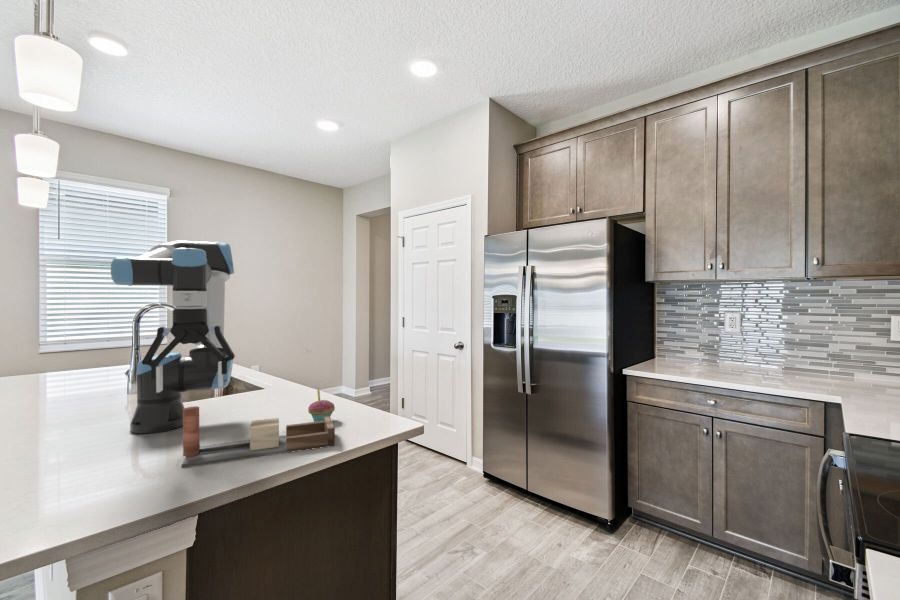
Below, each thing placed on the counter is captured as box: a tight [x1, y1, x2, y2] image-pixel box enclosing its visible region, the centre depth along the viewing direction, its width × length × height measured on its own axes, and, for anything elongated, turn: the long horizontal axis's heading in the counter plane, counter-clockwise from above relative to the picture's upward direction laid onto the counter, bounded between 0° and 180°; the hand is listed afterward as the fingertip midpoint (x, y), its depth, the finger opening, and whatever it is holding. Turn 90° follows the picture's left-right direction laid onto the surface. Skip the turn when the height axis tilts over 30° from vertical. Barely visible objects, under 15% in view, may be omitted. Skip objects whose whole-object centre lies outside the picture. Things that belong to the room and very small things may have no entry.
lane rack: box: [180, 416, 336, 468], centre depth 111 cm, size 12×37×5 cm, turn 113°
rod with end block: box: [182, 405, 280, 458], centre depth 108 cm, size 7×23×12 cm, turn 113°
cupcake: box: [307, 388, 336, 422], centre depth 134 cm, size 9×8×12 cm
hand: (190, 389), depth 104 cm, fingers open, 13 cm apart
